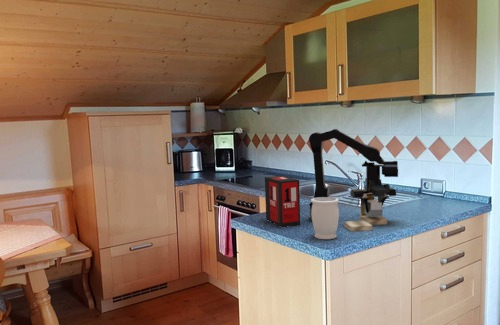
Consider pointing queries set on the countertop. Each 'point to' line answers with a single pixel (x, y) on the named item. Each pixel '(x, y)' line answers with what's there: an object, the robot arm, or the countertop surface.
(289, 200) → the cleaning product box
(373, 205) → the block
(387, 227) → the countertop surface
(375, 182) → the robot arm
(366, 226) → the stand
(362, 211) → the condiment
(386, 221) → the stand
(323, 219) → the jar
